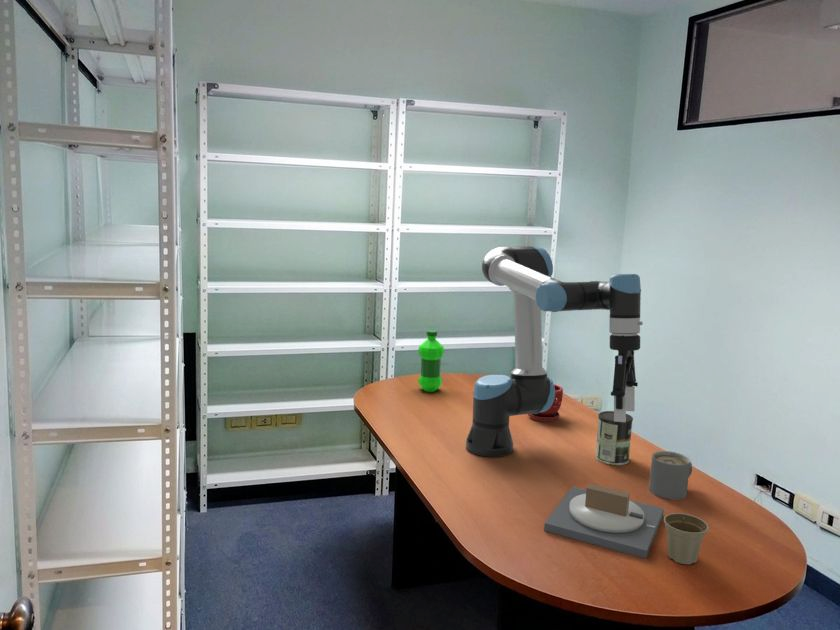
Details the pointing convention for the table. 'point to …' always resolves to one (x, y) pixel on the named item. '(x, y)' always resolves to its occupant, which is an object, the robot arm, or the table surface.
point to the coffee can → (613, 439)
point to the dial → (606, 510)
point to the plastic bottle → (430, 362)
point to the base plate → (623, 542)
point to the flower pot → (684, 536)
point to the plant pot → (553, 410)
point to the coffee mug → (669, 475)
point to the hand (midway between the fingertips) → (624, 416)
